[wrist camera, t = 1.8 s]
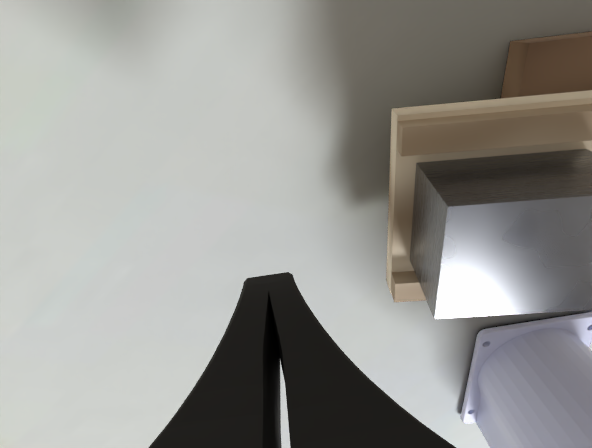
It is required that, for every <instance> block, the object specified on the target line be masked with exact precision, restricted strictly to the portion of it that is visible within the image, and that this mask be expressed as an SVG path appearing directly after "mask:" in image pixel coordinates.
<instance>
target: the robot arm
mask: <svg viewBox="0 0 592 448" xmlns="http://www.w3.org/2000/svg"><path fill="white" fill-rule="evenodd" d="M591 342H592V312H588V313H582V314H575V315H569V316H563V317H556V318H550V319H544V320H537V321H531V322H525V323H518V324H512V325H506V326H500V327H493V328H487V329H483V330H481V331H480V332H479V333H478V335H477V338H476V343H475V348H474V353H473V358H472V363H471V368H470V373H469V378H468V383H467V388H466V392H465V397H464V402H463V407H462V412H461V420H462V422H463V423H465V424H470V423H477V425H478V427H479V428H480V430H481V432H482V434H483V436H484V437H485V439H486V441H487V443H488V445H489V446H490V448H592V351H591V350H590V349H589V347H590V344H591ZM280 360H281V365H282V370H283V375H284V380H285V386H286V397H287V409H288V421H289V433H290V445H291V448H456V447H454V446H453V445H452V444H450V443H449V442H447V441H446V440H444V439H443V438H442V437H440V436H439V435H437V434H436V433H435V432H433V431H432V430H430V429H429V428H428V427H426V426H425V425H424V424H422V423H421V422H420V421H418V420H417V419H416V418H415V417H413V416H412V415H411V414H410V413H408V412H407V411H406V410H404V409H403V408H402V407H401V406H399V405H398V404H397V403H396V402H395V401H394V400H393V399H391V398H390V397H389V396H388V395H387V394H386V393H385V392H383V391H382V390H381V389H380V388H379V387H378V386H377V385H375V384H374V383H373V382H372V381H371V380H370V379H369V378H368V377H367V376H366V375H365V374H364V373H363V372H362V371H361V370H360V369H359V368H358V367H357V366H356V365H355V364H354V363H353V362H352V361H351V360H350V359H349V358H348V357H347V356H346V355H345V354H344V352H343V351H342V350H341V349H340V348H339V347H338V346H337V344H336V343H335V342H334V341H333V340H332V338H331V337H330V336H329V335H328V333H327V332H326V331H325V330H324V328H323V327H322V325H321V324H320V323H319V321H318V320H317V318H316V317H315V316H314V314H313V313H312V311H311V310H310V308H309V307H308V305H307V304H306V302H305V300H304V299H303V297H302V295H301V293H300V291H299V290H298V288H297V285H296V283H295V281H294V278H293V275H292V274H290V273H289V272H286V273H280V274H273V275H266V276H259V277H253V278H247V279H246V280H245V282H244V285H243V289H242V292H241V295H240V298H239V301H238V303H237V306H236V309H235V311H234V313H233V316H232V318H231V320H230V323H229V325H228V327H227V329H226V332H225V334H224V336H223V338H222V340H221V341H220V343H219V345H218V347H217V349H216V351H215V353H214V355H213V357H212V359H211V360H210V362H209V364H208V366H207V367H206V369H205V371H204V372H203V374H202V376H201V377H200V379H199V380H198V382H197V383H196V385H195V387H194V388H193V390H192V391H191V393H190V394H189V395H188V397H187V398H186V400H185V401H184V403H183V404H182V405H181V407H180V408H179V410H178V411H177V413H176V414H175V415H174V417H173V418H172V419H171V421H170V422H169V423H168V425H167V426H166V427H165V428H164V430H163V431H162V432H161V433H160V434H159V436H158V437H157V438H156V439H155V441H154V442H153V443H152V444H151V445H150V447H149V448H281V426H280Z"/></svg>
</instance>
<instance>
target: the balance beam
mask: <svg viewBox="0 0 592 448" xmlns="http://www.w3.org/2000/svg"><path fill="white" fill-rule="evenodd" d="M575 149H588V150H590V151H592V90H588V91H577V92H566V93H555V94H544V95H534V96H523V97H512V98H501V99H490V100H479V101H468V102H458V103H447V104H436V105H425V106H414V107H403V108H392V114H391V145H390V177H389V209H388V240H387V272H386V280H387V284H388V287H389V290H390V293H392V296H393V299H394V302H406V301H422V300H426V298H425V295H424V293H423V291H422V288H421V286H420V283H419V281H418V279H417V276H416V274H415V272H414V269H413V267H412V264H411V262H410V247H411V232H412V218H413V203H414V189H415V174H416V163H419V162H431V161H443V160H455V159H467V158H479V157H491V156H503V155H515V154H527V153H539V152H551V151H563V150H575Z"/></svg>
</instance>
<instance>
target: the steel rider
mask: <svg viewBox="0 0 592 448" xmlns="http://www.w3.org/2000/svg"><path fill="white" fill-rule="evenodd" d="M410 262H411V264H412V267H413V269H414V272H415V274H416V276H417V279H418V281H419V283H420V286H421V288H422V291H423V293H424V295H425V298H426V300H427V303H428V305H429V307H430V310H431V312H432V314H433V317H434V319H445V318H462V317H479V316H496V315H513V314H531V313H548V312H565V311H582V310H592V151H590V150H588V149H575V150H563V151H551V152H539V153H527V154H515V155H503V156H491V157H479V158H467V159H455V160H443V161H431V162H419V163H416V174H415V189H414V203H413V218H412V232H411V247H410Z"/></svg>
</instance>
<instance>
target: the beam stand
mask: <svg viewBox="0 0 592 448" xmlns="http://www.w3.org/2000/svg"><path fill="white" fill-rule="evenodd" d="M588 90H592V32H583V33H575V34H566V35H558V36H549V37H541V38H533V39H524V40H516V41H510V46H509V52H508V58H507V64H506V70H505V75H504V81H503V87H502V93H501V98H512V97H523V96H534V95H544V94H555V93H566V92H577V91H588Z"/></svg>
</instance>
